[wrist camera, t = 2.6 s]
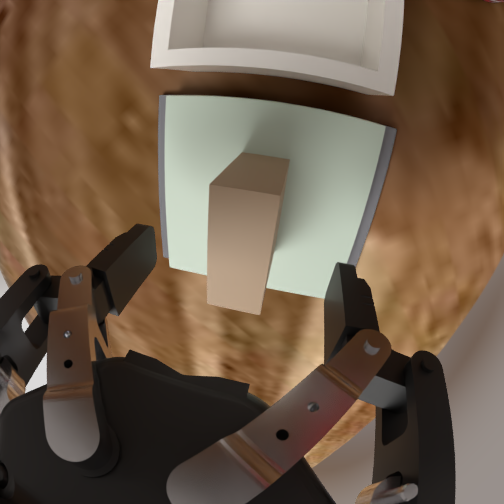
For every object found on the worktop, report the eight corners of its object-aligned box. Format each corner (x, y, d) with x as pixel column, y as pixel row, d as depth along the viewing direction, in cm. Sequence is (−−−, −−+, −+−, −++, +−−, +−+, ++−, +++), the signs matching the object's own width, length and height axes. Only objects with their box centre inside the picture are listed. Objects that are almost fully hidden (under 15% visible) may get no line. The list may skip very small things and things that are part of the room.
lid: (173, 94, 14) (104, 105, 8) (381, 124, 13) (426, 147, 7) (175, 259, 21) (134, 319, 15) (332, 290, 19) (334, 364, 14)
